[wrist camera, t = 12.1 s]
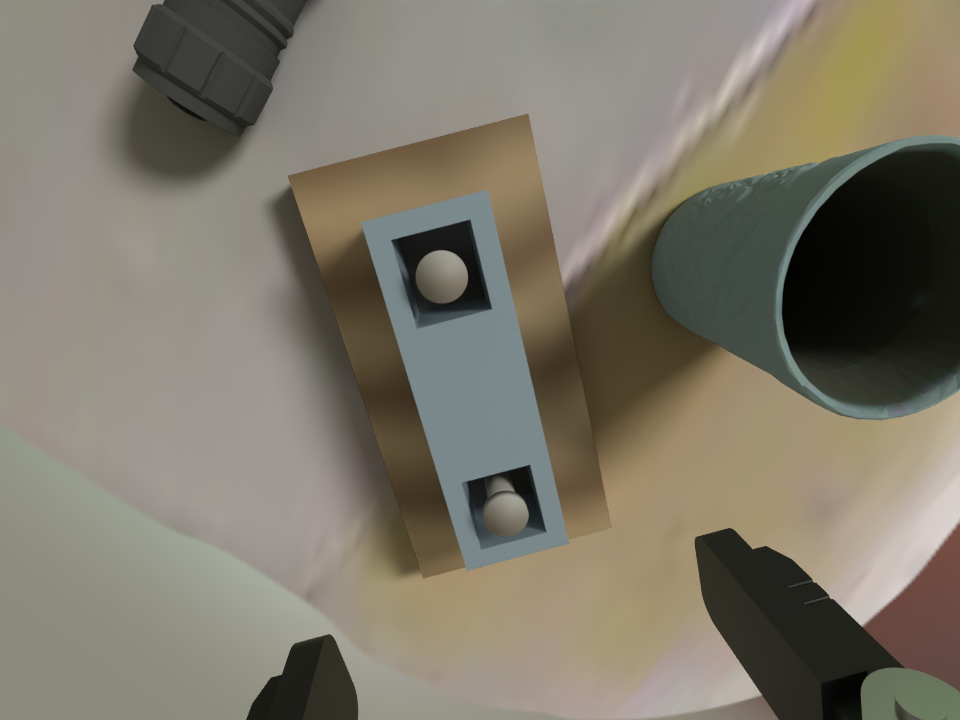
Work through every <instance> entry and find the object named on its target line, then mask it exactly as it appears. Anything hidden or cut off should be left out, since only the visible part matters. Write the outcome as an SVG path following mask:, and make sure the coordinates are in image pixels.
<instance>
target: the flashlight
mask: <svg viewBox="0 0 960 720" xmlns="http://www.w3.org/2000/svg"><path fill="white" fill-rule="evenodd" d="M306 1H307V0H165V1H164V3H163V5H161V4H157V5H152V7H151V9H150V11H149V13H148V15H147V18H146V20H145V22H144V24H143V26H142V28H141V31H140V33H139V35H138V37H137V39H136V41H135V43H134V49H135V51H136V53H137V55H138V59H137V61H136V63H135V65H134V67H133V71H134V72H135V73H136V74H137V75H138V76H140V77H141V78H142V79H144V80H145V81H146V82H148V83H149V84H151V85H152V86H154V87H155V88H156V89H158V90H159V91H161V92H162V93H164V94H165V95H167V97H168V99H169V100H170V101H171V102H172V103H173V104H174V105H176V106H177V107H179V108H180V109H181V110H183V111H184V112H186V113H187V114H189V115H191V116H193V117H195V118H198V119H200V120H203V121H209V122H211V123H213V124H214V125H216V126H218V127H220V128H222V129H224V130H226V131H228V132H230V133H232V134H234V135H236V136H239V137H240V136H241V135H242V133H243V131H244V129H245V127H246V125H254V124H255V122H256V120H257V119H258V117H259V115H260V113H261V111H262V109H263V107H264V105H265V104H266V102H267V100H268V98H269V96H270V94H271V92H272V90H273V87H272V84H271V82H270V80H271V78H272V76H273V74H274V72H275V70H276V68H277V66H278V64H279V63H280V61H279V60H278V59H277V56H278V54H279V52H280V50H282V49H285V48H286V47H287V42H286V40H287V39H288V38H290V37H292V36H293V25H294V24H295V22H296V20H297V18H298V16H299V14H300V12H301V10H302V8H303V6H304V4H305V3H306Z"/></svg>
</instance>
